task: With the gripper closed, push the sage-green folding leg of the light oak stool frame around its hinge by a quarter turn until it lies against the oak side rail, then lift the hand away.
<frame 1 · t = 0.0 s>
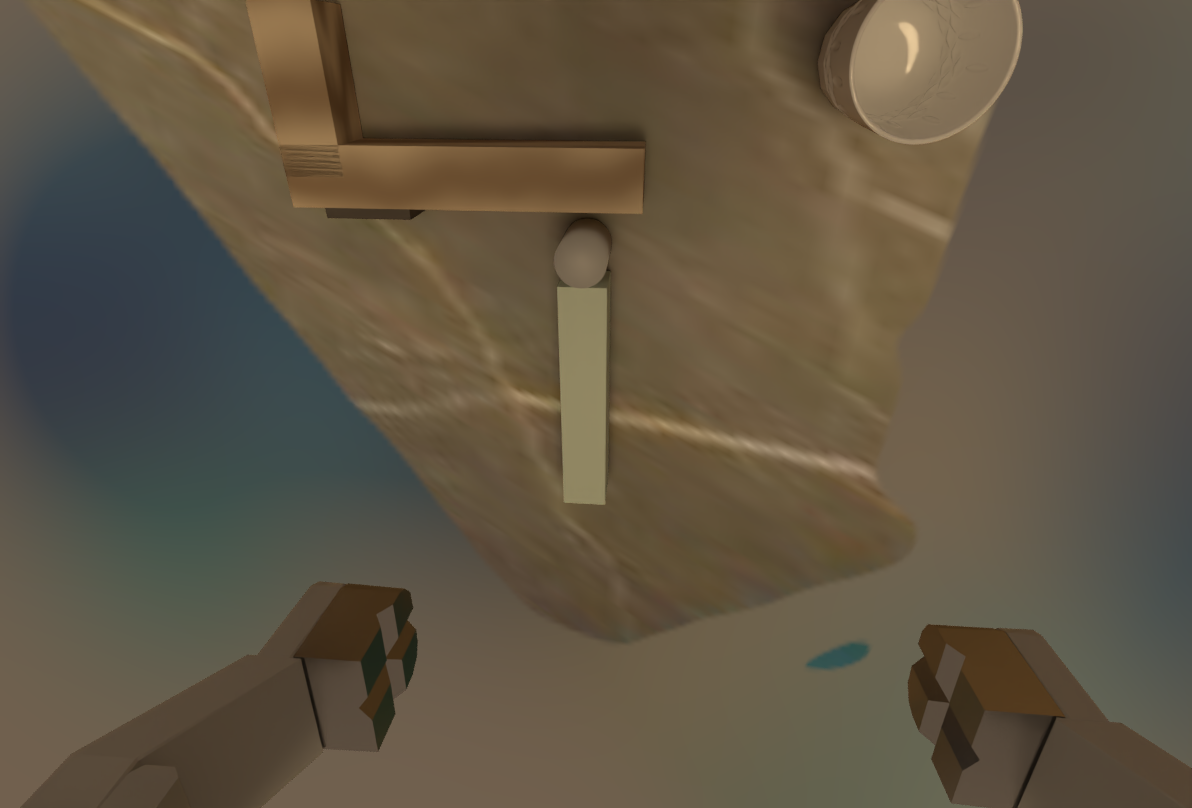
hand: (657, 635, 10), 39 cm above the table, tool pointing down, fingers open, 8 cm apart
white cup: (871, 57, 39), on the table
folding leg: (585, 374, 48), point 3 cm above the table, hinge at 0.0°
stool frame: (476, 169, 44), on the table
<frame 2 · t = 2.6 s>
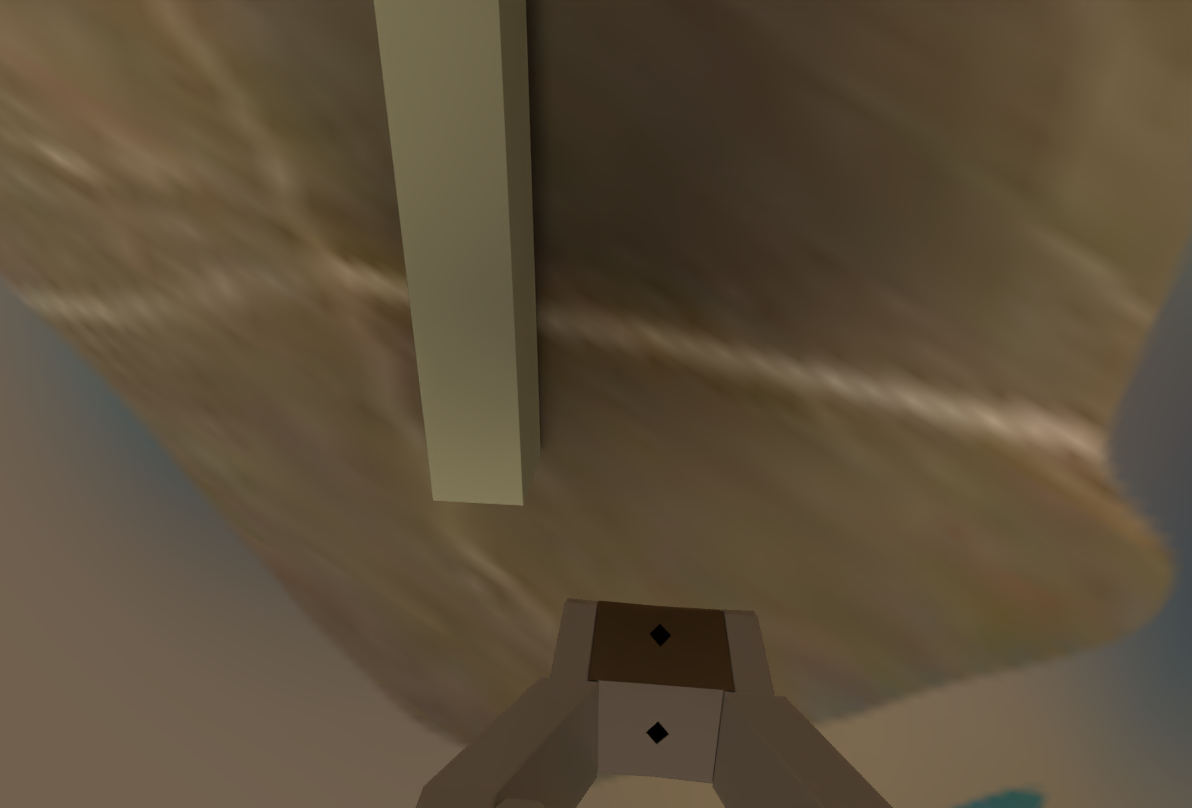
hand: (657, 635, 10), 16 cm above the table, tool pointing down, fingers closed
folding leg: (467, 183, 20), point 3 cm above the table, hinge at 0.0°
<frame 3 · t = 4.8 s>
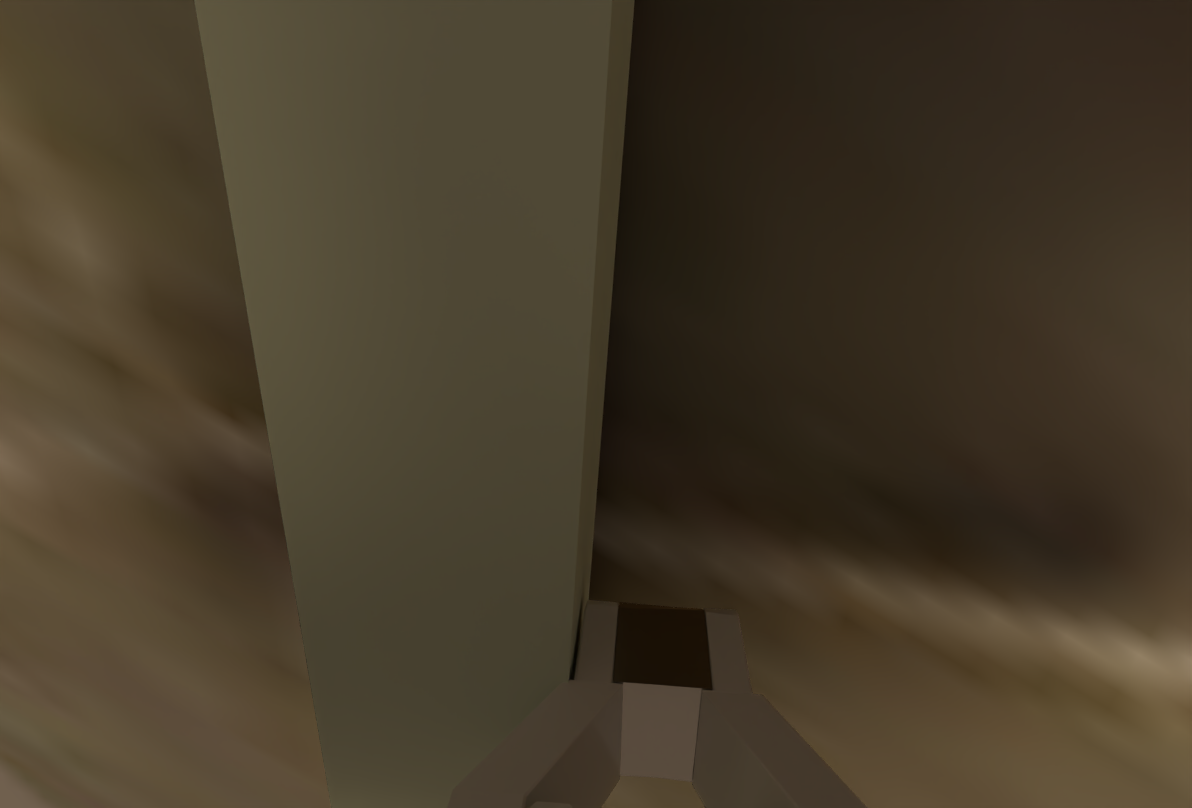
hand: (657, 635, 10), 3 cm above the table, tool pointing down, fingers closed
folding leg: (465, 309, 8), point 3 cm above the table, hinge at -2.2°, touching gripper
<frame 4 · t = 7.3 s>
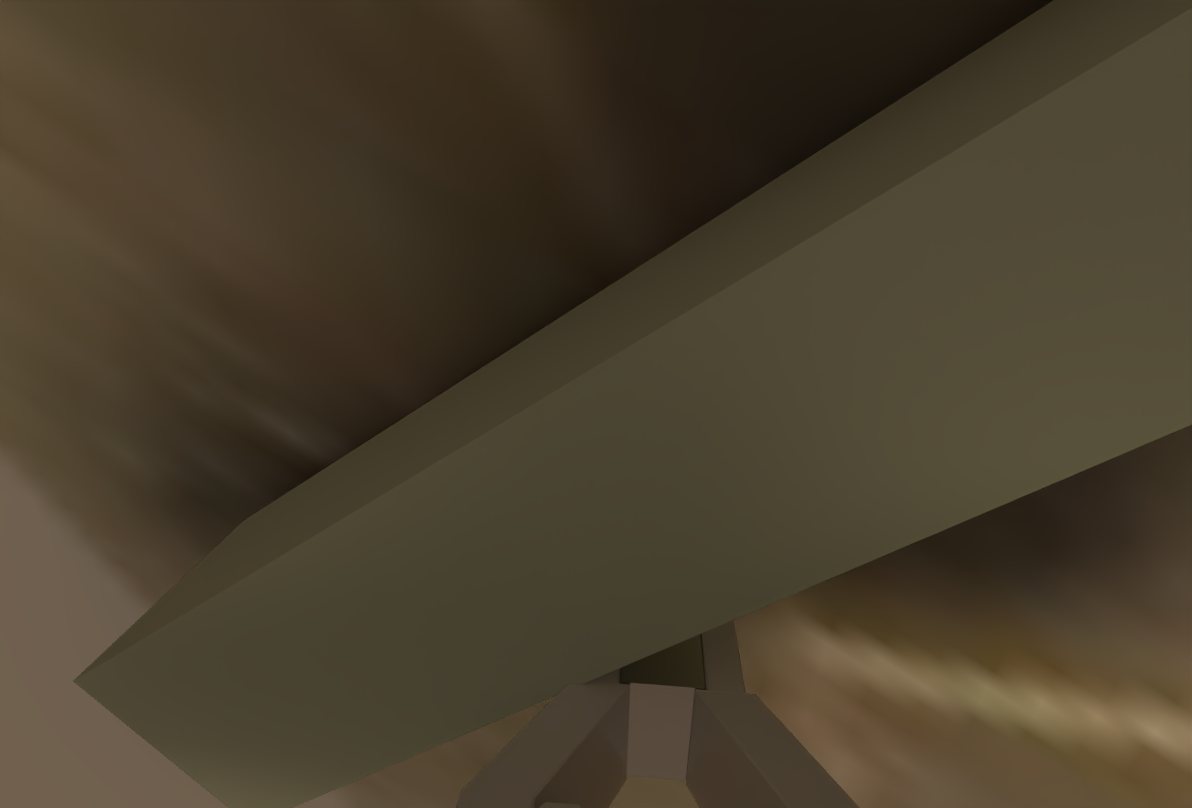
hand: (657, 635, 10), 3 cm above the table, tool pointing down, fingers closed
folding leg: (854, 331, 8), point 3 cm above the table, hinge at -54.3°, touching gripper
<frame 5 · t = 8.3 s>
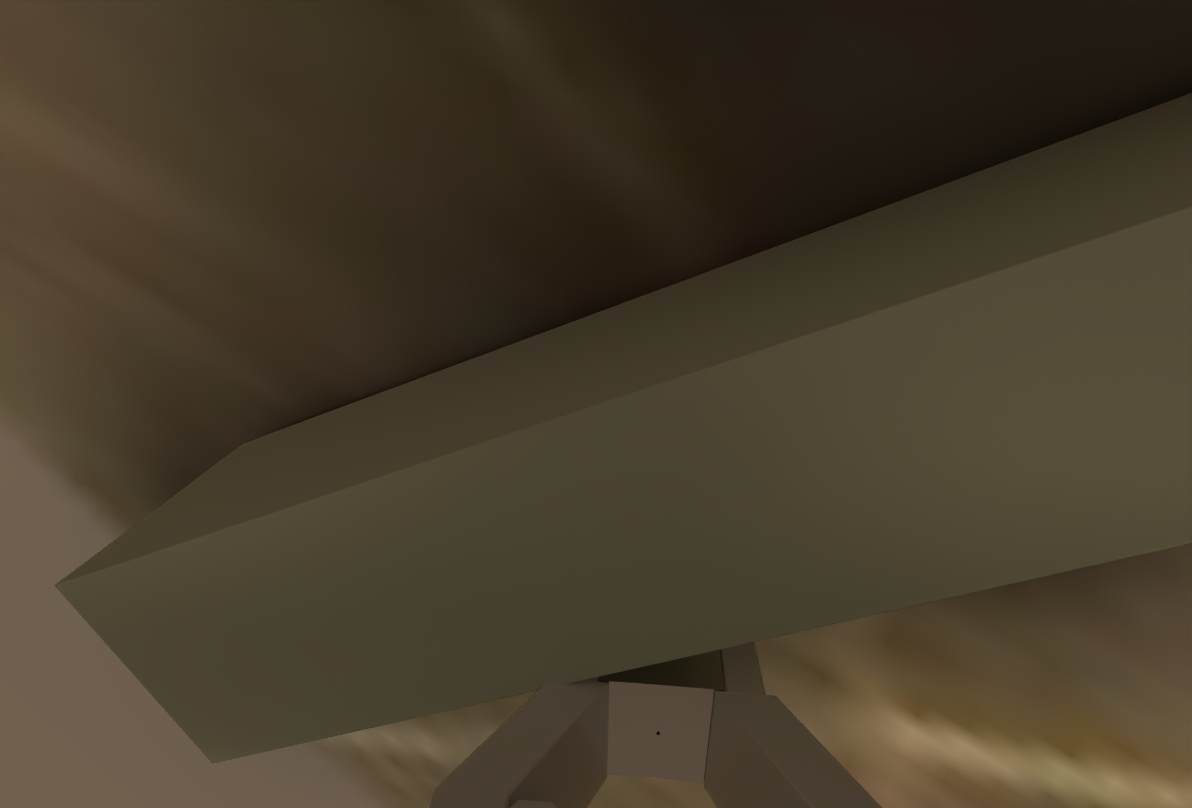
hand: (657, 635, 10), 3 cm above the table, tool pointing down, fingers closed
folding leg: (943, 375, 8), point 3 cm above the table, hinge at -66.7°, touching gripper
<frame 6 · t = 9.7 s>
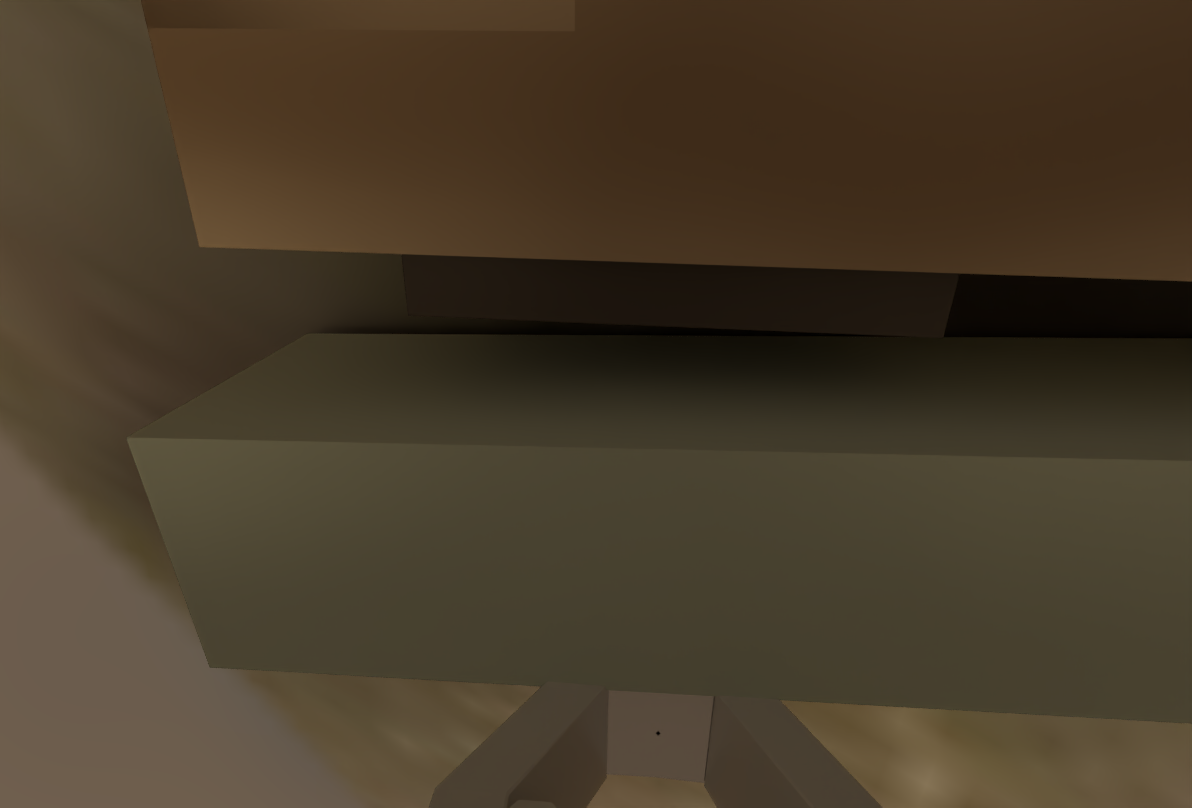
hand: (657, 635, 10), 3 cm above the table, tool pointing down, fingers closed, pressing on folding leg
folding leg: (1058, 512, 8), point 3 cm above the table, hinge at -87.8°, touching gripper
stool frame: (1185, 79, 8), on the table
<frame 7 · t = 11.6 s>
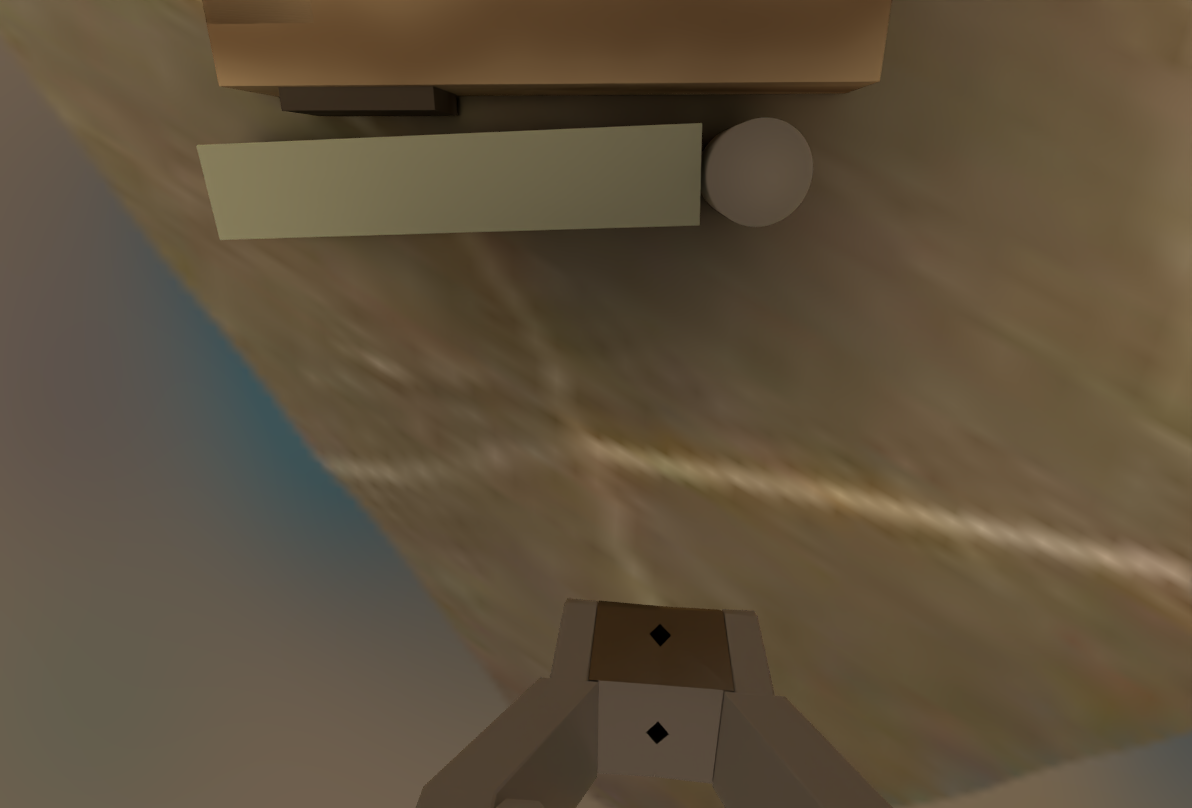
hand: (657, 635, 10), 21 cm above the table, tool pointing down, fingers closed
folding leg: (505, 181, 25), point 3 cm above the table, hinge at -87.8°
stool frame: (551, 40, 25), on the table
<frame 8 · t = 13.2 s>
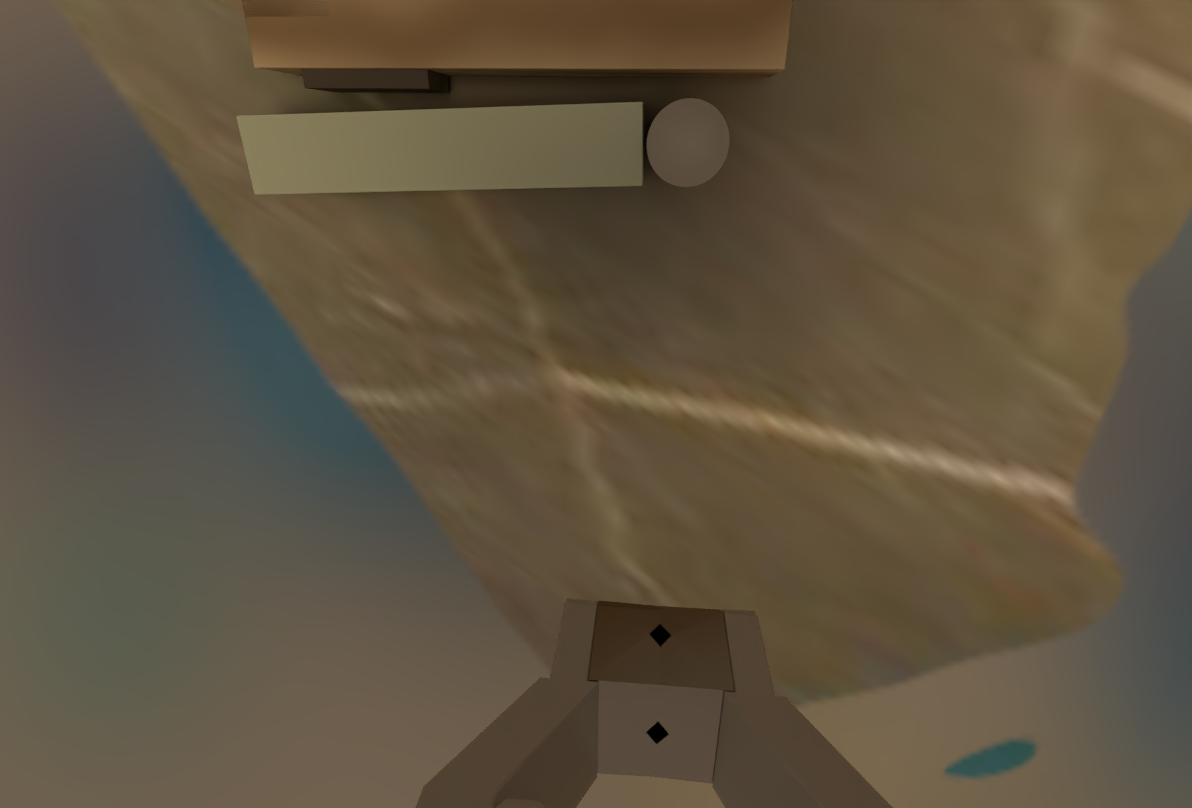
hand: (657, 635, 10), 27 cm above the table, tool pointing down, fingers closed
folding leg: (487, 148, 30), point 3 cm above the table, hinge at -87.8°
stool frame: (526, 30, 30), on the table
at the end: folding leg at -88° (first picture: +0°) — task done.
